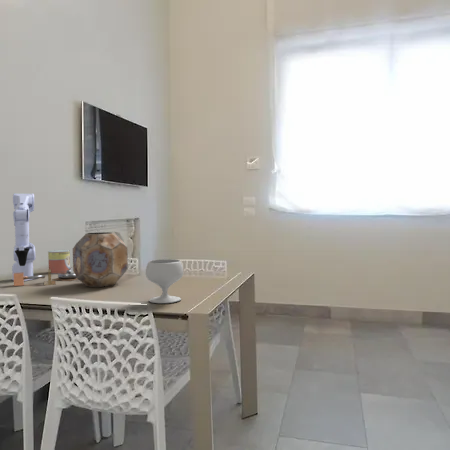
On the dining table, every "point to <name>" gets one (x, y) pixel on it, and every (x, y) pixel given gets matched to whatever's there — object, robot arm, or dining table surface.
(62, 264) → the canned food
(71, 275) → the handwheel
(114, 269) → the planter
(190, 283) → the dining table surface
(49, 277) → the eye post
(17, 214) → the robot arm
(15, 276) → the hook rod
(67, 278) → the wheel mount
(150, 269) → the chalice
